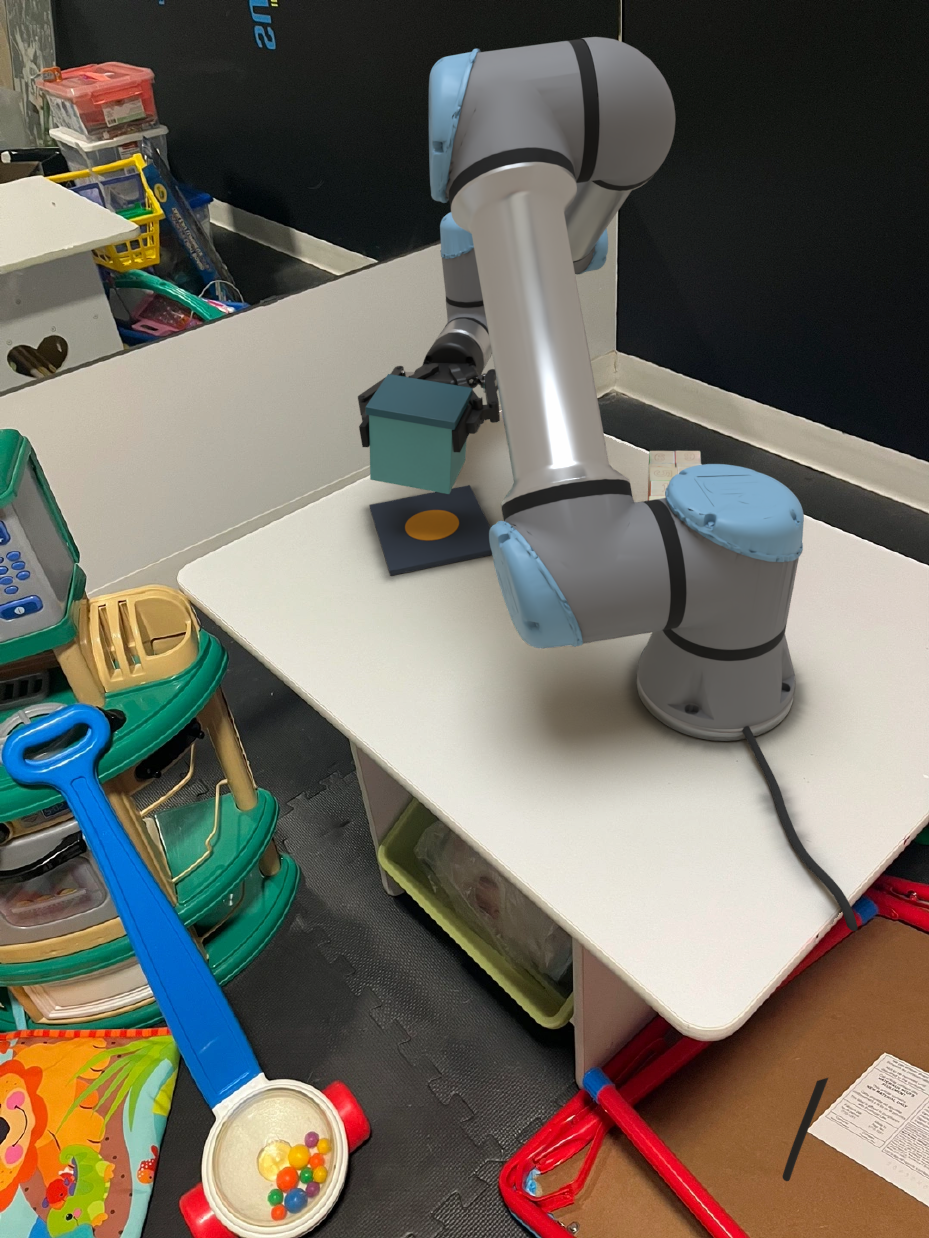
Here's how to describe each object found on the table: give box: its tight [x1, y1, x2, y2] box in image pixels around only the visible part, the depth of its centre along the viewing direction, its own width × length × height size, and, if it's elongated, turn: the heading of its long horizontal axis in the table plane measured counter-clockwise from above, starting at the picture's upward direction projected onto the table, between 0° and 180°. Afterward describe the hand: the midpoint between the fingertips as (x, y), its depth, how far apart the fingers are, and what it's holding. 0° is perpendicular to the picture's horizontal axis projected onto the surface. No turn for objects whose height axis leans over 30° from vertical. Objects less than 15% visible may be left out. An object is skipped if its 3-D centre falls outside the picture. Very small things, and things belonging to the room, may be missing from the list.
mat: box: [369, 484, 493, 577], centre depth 118 cm, size 16×14×1 cm
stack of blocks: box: [647, 450, 703, 501], centre depth 105 cm, size 21×6×12 cm, turn 170°
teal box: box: [366, 373, 474, 494], centre depth 110 cm, size 9×11×10 cm
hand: (409, 439), depth 106 cm, fingers closed on teal box, 10 cm apart
